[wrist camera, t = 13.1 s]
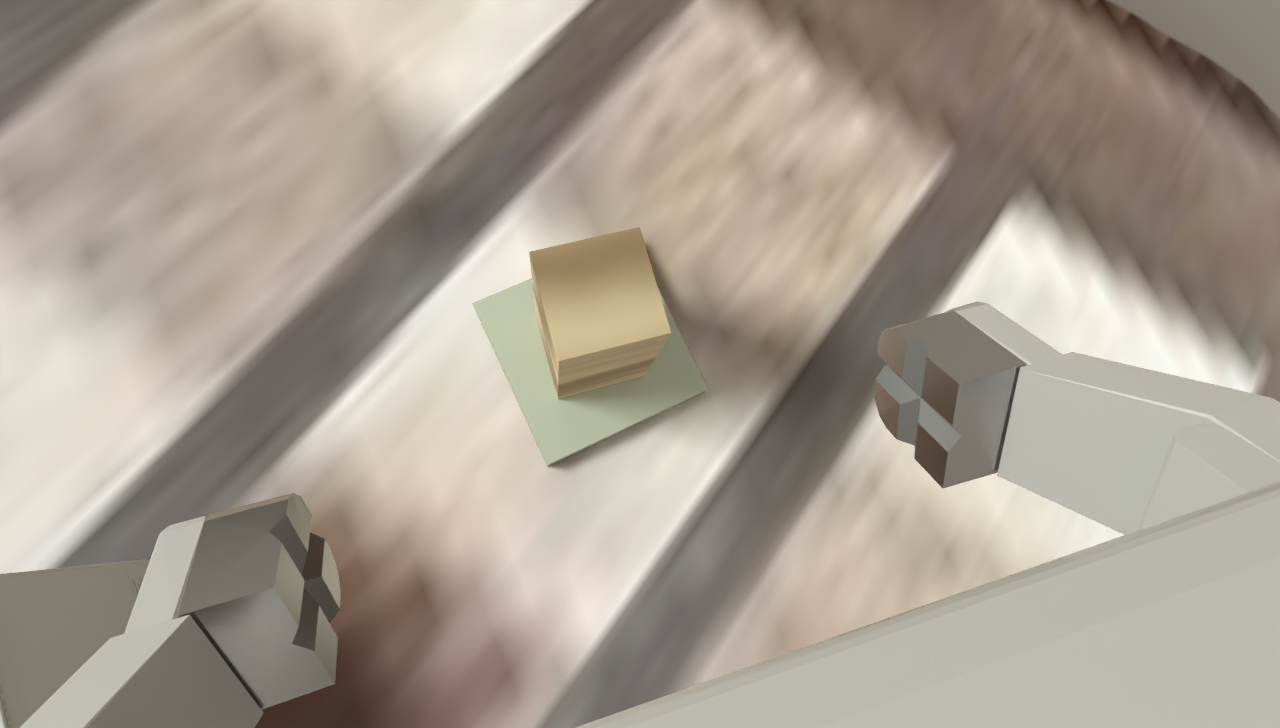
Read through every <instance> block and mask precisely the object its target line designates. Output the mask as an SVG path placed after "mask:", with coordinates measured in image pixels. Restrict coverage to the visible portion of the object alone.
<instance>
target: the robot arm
mask: <svg viewBox="0 0 1280 728" xmlns="http://www.w3.org/2000/svg"><path fill="white" fill-rule="evenodd" d="M877 355H878V356H879V357H880V358H881V359H882V361H883V362H884V363H885V364H886V365H885V366H884V368H883V369H882V371H881V372H880V373H879V375H878V376H877V378H876V379H875V401H876V405H877V408H878V412H879V415H880V417H881V419H882V421H883V423H884V424H885V426H886V428H887V429H888V430H889V431H890V432H891V433H892V435H893V436H894V437H895V438H896V439H898V440H901V441H903V442H906V443H909V444H912V445H915V459H916V461H917V462H918V463H919V464H920V465H921V466H922V467H923V468H924V469H925V470H926V471H927V472H928V473H929V474H930V475H931V476H932V477H933V479H934V480H935V481H936V482H937V483H938V484H939V485H940V486H941V487H942V488H946V487H949V486H953V485H956V484H960V483H963V482H966V481H970V480H973V479H977V478H980V477H984V476H987V475H990V474H994V473H997V472H998V474H997V476H1000V477H1002V478H1004V479H1006V480H1008V481H1010V482H1012V483H1015V484H1017V485H1019V486H1021V487H1023V488H1025V489H1028V490H1030V491H1032V492H1034V493H1036V494H1038V495H1040V496H1043V497H1045V498H1047V499H1049V500H1051V501H1053V502H1056V503H1058V504H1060V505H1062V506H1064V507H1066V508H1068V509H1071V510H1073V511H1075V512H1077V513H1079V514H1081V515H1084V516H1086V517H1088V518H1090V519H1092V520H1094V521H1096V522H1099V523H1101V524H1103V525H1105V526H1107V527H1109V528H1111V529H1114V530H1116V531H1118V532H1120V533H1122V534H1124V536H1121V537H1118V538H1116V539H1113V540H1110V541H1107V542H1104V543H1101V544H1098V545H1096V546H1093V547H1090V548H1087V549H1084V550H1081V551H1078V552H1076V553H1073V554H1070V555H1067V556H1064V557H1061V558H1058V559H1055V560H1053V561H1050V562H1047V563H1044V564H1041V565H1038V566H1035V567H1033V568H1030V569H1027V570H1024V571H1021V572H1018V573H1015V574H1013V575H1010V576H1007V577H1004V578H1001V579H998V580H996V581H993V582H990V583H987V584H984V585H981V586H978V587H976V588H973V589H970V590H967V591H964V592H961V593H958V594H956V595H953V596H950V597H947V598H944V599H941V600H938V601H936V602H933V603H930V604H927V605H924V606H921V607H919V608H916V609H913V610H910V611H907V612H904V613H901V614H899V615H896V616H893V617H890V618H887V619H884V620H881V621H879V622H876V623H873V624H870V625H867V626H864V627H861V628H859V629H856V630H853V631H850V632H847V633H844V634H842V635H839V636H836V637H833V638H830V639H827V640H824V641H822V642H819V643H816V644H813V645H810V646H807V647H804V648H801V649H799V650H796V651H793V652H790V653H787V654H784V655H781V656H779V657H776V658H773V659H770V660H767V661H764V662H761V663H759V664H756V665H753V666H750V667H747V668H744V669H741V670H739V671H736V672H733V673H730V674H727V675H724V676H721V677H719V678H716V679H713V680H710V681H707V682H704V683H701V684H699V685H696V686H693V687H690V688H687V689H684V690H681V691H679V692H676V693H673V694H670V695H667V696H664V697H661V698H659V699H656V700H653V701H650V702H647V703H644V704H641V705H639V706H636V707H633V708H630V709H627V710H624V711H621V712H619V713H616V714H613V715H610V716H607V717H604V718H601V719H598V720H596V721H593V722H590V723H587V724H584V725H581V726H578V727H576V728H1280V402H1278V401H1276V400H1274V399H1273V398H1269V397H1265V396H1261V395H1256V394H1252V393H1248V392H1243V391H1239V390H1235V389H1230V388H1226V387H1222V386H1217V385H1213V384H1209V383H1204V382H1200V381H1196V380H1191V379H1187V378H1183V377H1178V376H1174V375H1169V374H1165V373H1161V372H1156V371H1152V370H1148V369H1143V368H1139V367H1135V366H1130V365H1126V364H1122V363H1117V362H1113V361H1109V360H1104V359H1100V358H1096V357H1091V356H1087V355H1083V354H1078V353H1074V352H1071V353H1068V354H1064V355H1062V354H1061V353H1059V352H1058V351H1056V350H1055V349H1054V348H1052V347H1051V346H1049V345H1048V344H1046V343H1045V342H1043V341H1042V340H1040V339H1039V338H1037V337H1036V336H1034V335H1033V334H1031V333H1030V332H1029V331H1027V330H1026V329H1024V328H1023V327H1021V326H1020V325H1018V324H1017V323H1015V322H1014V321H1012V320H1011V319H1009V318H1008V317H1007V316H1005V315H1004V314H1002V313H1001V312H999V311H998V310H996V309H995V308H993V307H992V306H990V305H989V304H986V303H982V302H974V303H971V304H967V305H964V306H961V307H958V308H954V309H951V310H948V311H946V312H945V313H942V314H938V315H934V316H931V317H927V318H924V319H920V320H917V321H913V322H910V323H906V324H903V325H899V326H895V327H892V328H888V329H885V330H883V332H882V334H881V336H880V338H879V341H878V352H877ZM311 517H312V514H311V513H310V511H309V509H308V508H307V506H306V504H305V503H304V501H303V499H302V497H301V496H299V495H296V494H294V493H292V494H288V495H284V496H280V497H276V498H272V499H268V500H265V501H261V502H257V503H253V504H249V505H245V506H241V507H237V508H233V509H229V510H225V511H222V512H218V513H214V514H211V515H210V516H203V517H200V518H196V519H192V520H188V521H185V522H181V523H177V524H174V525H170V526H168V527H167V528H166V529H164V530H163V531H162V532H161V533H160V535H159V537H158V540H157V542H156V545H155V548H154V551H153V554H152V556H151V559H150V562H149V565H148V568H147V571H146V573H145V576H144V579H143V582H142V585H141V588H140V590H139V593H138V596H137V599H136V602H135V605H134V607H133V610H132V613H131V616H130V619H129V622H128V624H127V627H126V630H125V633H124V634H122V635H119V636H116V637H112V638H110V639H109V640H108V641H107V642H106V643H105V644H104V645H103V646H102V647H101V648H100V649H99V650H98V651H97V652H96V653H95V654H94V655H93V656H92V657H91V658H89V659H88V660H87V661H86V662H85V663H84V664H83V665H82V666H81V667H80V668H79V669H78V670H77V671H76V672H75V673H74V674H73V675H72V676H71V677H70V678H69V679H68V680H67V681H66V682H65V683H64V684H63V685H62V686H61V687H60V688H59V689H58V690H57V691H56V692H55V693H54V694H53V695H52V696H51V697H50V698H49V699H48V700H47V701H46V702H45V703H44V704H43V705H42V706H41V707H40V708H39V709H38V710H37V711H36V712H35V713H34V714H33V715H32V716H31V717H30V718H29V719H28V720H27V721H26V722H25V723H24V724H23V725H22V726H21V727H20V728H255V726H256V725H257V723H258V722H259V720H260V718H261V717H262V715H263V711H262V709H265V708H268V707H271V706H274V705H277V704H279V703H282V702H285V701H288V700H291V699H294V698H297V697H299V696H302V695H305V694H308V693H311V692H314V691H317V690H319V689H322V688H325V687H328V686H331V685H334V684H335V675H336V661H337V646H338V637H337V636H336V634H335V632H334V630H333V629H332V627H331V625H330V622H331V620H332V619H333V618H334V616H335V615H336V614H337V612H338V611H339V610H340V584H339V577H338V570H337V567H336V564H335V561H334V558H333V555H332V552H331V550H330V548H329V546H328V544H327V542H326V541H325V539H324V538H321V537H319V536H317V535H315V534H312V533H310V526H311Z"/></svg>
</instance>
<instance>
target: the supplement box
mask: <svg viewBox="0 0 1280 728" xmlns="http://www.w3.org/2000/svg"><path fill="white" fill-rule="evenodd" d="M149 562H150V559H147V560H136V561H125V562H117V563H107V564H96V565H86V566H76V567H67V568H58V569H48V570H38V571H28V572H18V573H7V574H0V728H20V727H21V726H22V725H23V724H24V723H25V722H26V721H27V720H28V719H29V718H30V717H31V716H32V715H33V714H34V713H35V712H36V711H37V710H38V709H39V708H40V707H41V706H42V705H43V704H44V703H45V702H46V701H47V700H48V699H49V698H50V697H51V696H52V695H53V694H54V693H55V692H56V691H57V690H58V689H59V688H60V687H61V686H62V685H63V684H64V683H65V682H66V681H67V680H68V679H69V678H70V677H71V676H72V675H73V674H74V673H75V672H76V671H77V670H78V669H79V668H80V667H81V666H82V665H83V664H84V663H85V662H86V661H87V660H88V659H89V658H91V657H92V656H93V655H94V654H95V653H96V652H97V651H98V650H99V649H100V648H101V647H102V646H103V645H104V644H105V643H106V642H107V641H108V640H109V639H110V638H112V637H116V636H119V635H122V634H124V633H125V630H126V627H127V624H128V622H129V619H130V616H131V613H132V610H133V607H134V605H135V602H136V599H137V596H138V593H139V590H140V588H141V585H142V582H143V579H144V576H145V573H146V571H147V568H148V565H149Z"/></svg>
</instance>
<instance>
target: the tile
mask: <svg viewBox="0 0 1280 728" xmlns="http://www.w3.org/2000/svg"><path fill="white" fill-rule="evenodd" d="M658 290H659V289H658ZM659 293H660V291H659ZM660 297H661V300H662V303H663V307H664V310H665V313H666V317H667V320H668V324H669V327H670V330H671V334H670V336H669V337H668V339H667V341H666V342H665V344H664V346H663V347H662V349H661V350H660V352H659V354H658V355H657V357H656V358H655V360H654V362H653V363H652V365H651V367H650V368H649V370H648V371H647V373H646V375H645V376H644V377H642V378H638V379H634V380H630V381H627V382H623V383H619V384H615V385H611V386H607V387H603V388H600V389H596V390H592V391H588V392H584V393H580V394H577V395H573V396H569V397H565V398H561V399H558V398H557V394H556V391H555V387H554V383H553V379H552V375H551V372H550V368H549V364H548V360H547V357H546V353H545V349H544V345H543V342H542V338H541V334H540V330H539V326H538V323H537V319H536V315H535V305H534V295H533V284H532V279H529V280H527V281H525V282H522V283H520V284H517V285H515V286H513V287H510V288H508V289H506V290H503V291H501V292H498V293H496V294H494V295H491V296H489V297H487V298H484V299H482V300H479V301H477V302H475V303H472V304H473V306H474V309H475V311H476V313H477V315H478V317H479V320H480V322H481V324H482V326H483V328H484V330H485V333H486V335H487V337H488V339H489V341H490V343H491V345H492V348H493V350H494V352H495V354H496V356H497V358H498V361H499V363H500V365H501V367H502V369H503V371H504V374H505V376H506V378H507V380H508V382H509V384H510V387H511V389H512V391H513V393H514V395H515V397H516V400H517V402H518V404H519V406H520V408H521V410H522V413H523V415H524V417H525V419H526V421H527V423H528V425H529V428H530V430H531V432H532V434H533V436H534V438H535V441H536V443H537V445H538V447H539V449H540V451H541V454H542V456H543V458H544V460H545V462H546V464H547V466H549V465H552V464H554V463H556V462H558V461H560V460H562V459H564V458H566V457H568V456H570V455H573V454H575V453H577V452H579V451H581V450H583V449H585V448H587V447H589V446H591V445H594V444H596V443H598V442H600V441H602V440H604V439H606V438H608V437H610V436H613V435H615V434H617V433H619V432H621V431H623V430H625V429H627V428H629V427H631V426H634V425H636V424H638V423H640V422H642V421H644V420H646V419H648V418H650V417H652V416H655V415H657V414H659V413H661V412H663V411H665V410H667V409H669V408H671V407H673V406H676V405H678V404H680V403H682V402H684V401H686V400H688V399H690V398H692V397H694V396H697V395H699V394H701V393H703V392H705V391H706V390H707V389H708V387H707V385H706V383H705V381H704V379H703V377H702V375H701V373H700V371H699V369H698V367H697V365H696V363H695V361H694V359H693V357H692V355H691V353H690V351H689V349H688V347H687V345H686V343H685V341H684V339H683V337H682V335H681V333H680V331H679V329H678V327H677V325H676V323H675V321H674V319H673V317H672V315H671V313H670V311H669V309H668V307H667V305H666V303H665V301H664V299H663V297H662V295H661V293H660Z"/></svg>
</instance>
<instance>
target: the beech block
mask: <svg viewBox="0 0 1280 728" xmlns="http://www.w3.org/2000/svg"><path fill="white" fill-rule="evenodd" d="M530 263H531V273H532V284H533V295H534V305H535V315H536V319H537V323H538V326H539V330H540V334H541V338H542V342H543V345H544V349H545V353H546V357H547V360H548V364H549V368H550V372H551V375H552V379H553V383H554V387H555V391H556V394H557V398H558V399H561V398H565V397H569V396H573V395H577V394H580V393H584V392H588V391H592V390H596V389H600V388H603V387H607V386H611V385H615V384H619V383H623V382H627V381H630V380H634V379H638V378H642V377H644V376H645V375H646V373H647V371H648V370H649V368H650V367H651V365H652V363H653V362H654V360H655V358H656V357H657V355H658V354H659V352H660V350H661V349H662V347H663V346H664V344H665V342H666V341H667V339H668V337H669V336H670V334H671V330H670V327H669V324H668V320H667V317H666V313H665V310H664V307H663V303H662V300H661V297H660V293H659V290H658V287H657V283H656V280H655V276H654V273H653V270H652V266H651V263H650V260H649V256H648V253H647V250H646V246H645V243H644V239H643V236H642V233H641V229H640V227H638V228H634V229H629V230H625V231H620V232H616V233H611V234H607V235H603V236H598V237H594V238H589V239H585V240H580V241H576V242H571V243H567V244H563V245H558V246H554V247H549V248H545V249H540V250H536V251H531V252H530Z"/></svg>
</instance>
